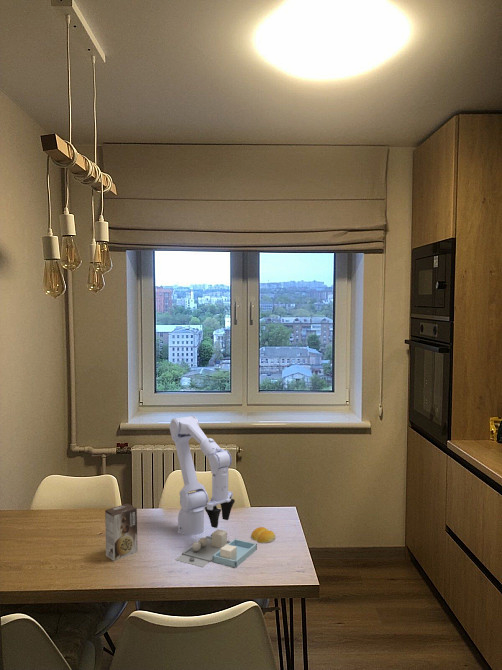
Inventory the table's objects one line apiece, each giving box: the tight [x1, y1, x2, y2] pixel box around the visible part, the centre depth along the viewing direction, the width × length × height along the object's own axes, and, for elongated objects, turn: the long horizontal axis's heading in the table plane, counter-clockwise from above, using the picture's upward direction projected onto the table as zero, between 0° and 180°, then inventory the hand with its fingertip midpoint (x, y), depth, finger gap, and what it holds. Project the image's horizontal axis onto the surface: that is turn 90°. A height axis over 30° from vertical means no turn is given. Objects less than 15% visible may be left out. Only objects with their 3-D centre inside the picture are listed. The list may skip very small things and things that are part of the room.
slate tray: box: [174, 535, 232, 568], centre depth 181 cm, size 12×20×1 cm, turn 152°
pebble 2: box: [197, 536, 207, 547], centre depth 184 cm, size 3×3×3 cm
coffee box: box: [104, 503, 139, 562], centre depth 179 cm, size 9×6×16 cm
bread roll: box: [250, 526, 276, 544], centre depth 192 cm, size 8×9×4 cm
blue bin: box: [212, 538, 258, 569], centre depth 178 cm, size 9×15×2 cm, turn 152°
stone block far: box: [211, 529, 228, 548], centre depth 186 cm, size 4×4×4 cm
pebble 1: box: [191, 541, 201, 552], centre depth 181 cm, size 3×3×3 cm
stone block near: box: [220, 544, 237, 560], centre depth 173 cm, size 4×4×4 cm
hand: (220, 523), depth 184 cm, fingers open, 7 cm apart
